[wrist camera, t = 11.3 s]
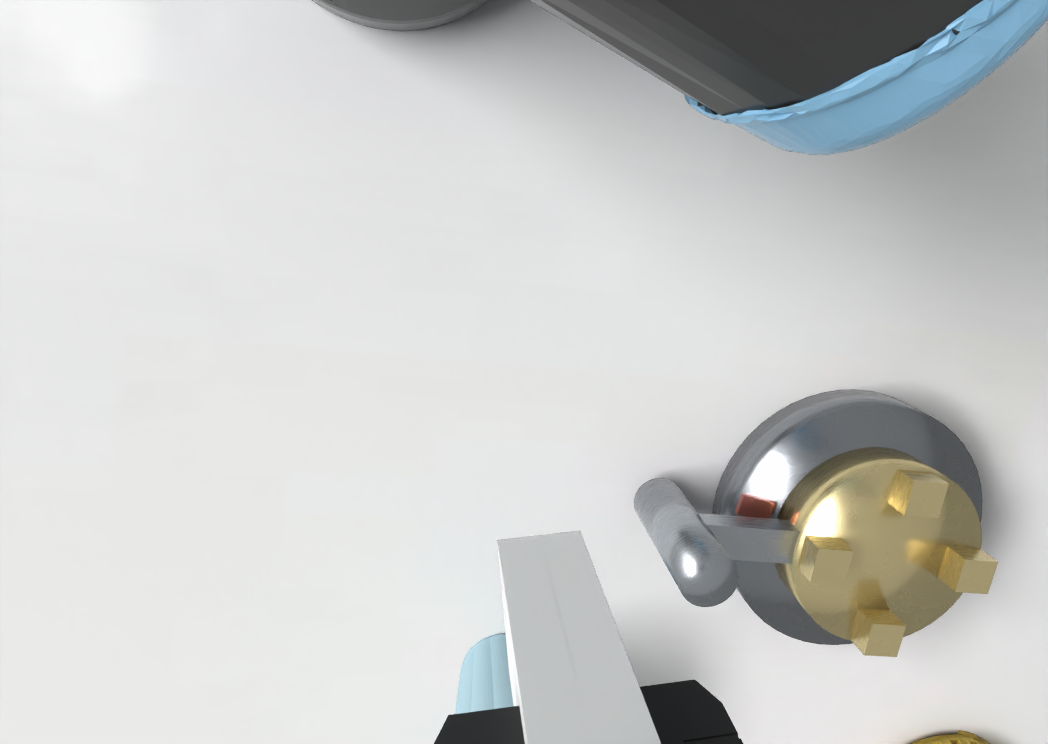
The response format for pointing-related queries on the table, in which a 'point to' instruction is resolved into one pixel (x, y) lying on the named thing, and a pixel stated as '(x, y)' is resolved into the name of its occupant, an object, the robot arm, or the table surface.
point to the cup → (485, 677)
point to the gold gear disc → (953, 739)
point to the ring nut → (837, 545)
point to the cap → (803, 444)
